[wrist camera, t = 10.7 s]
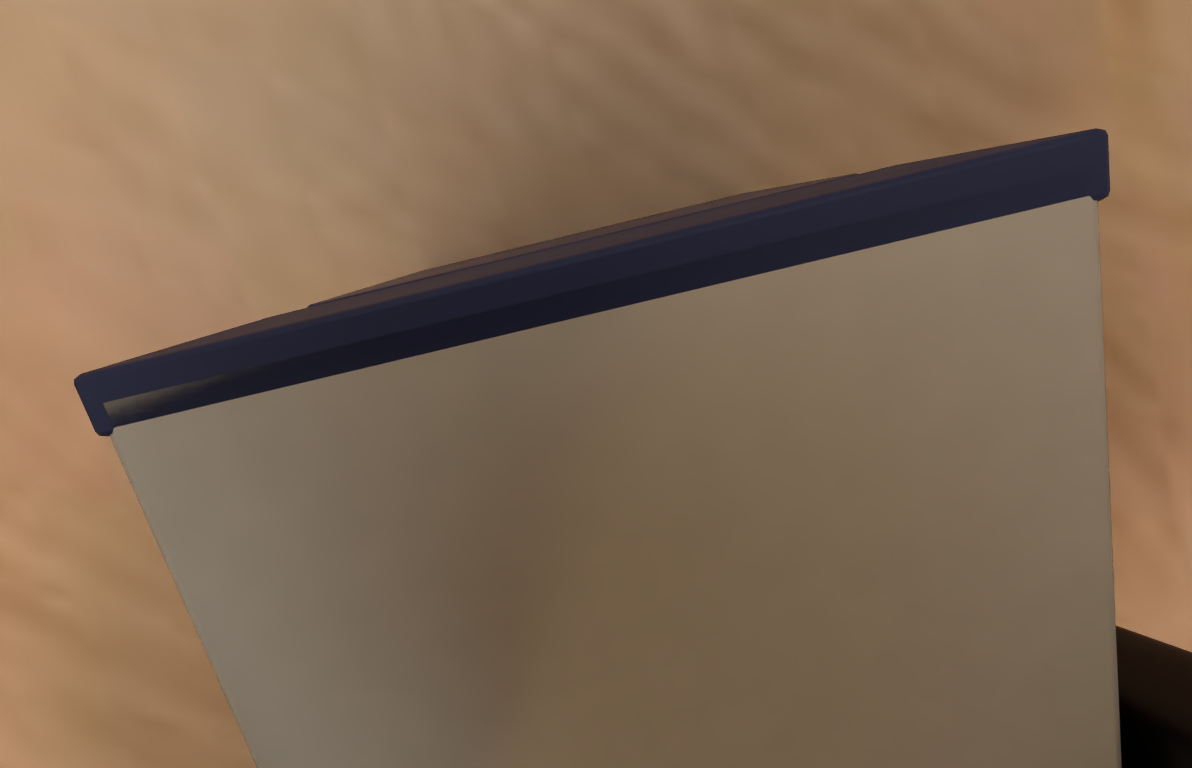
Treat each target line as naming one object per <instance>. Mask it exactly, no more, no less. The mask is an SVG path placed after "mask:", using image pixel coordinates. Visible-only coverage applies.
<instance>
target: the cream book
mask: <svg viewBox="0 0 1192 768" xmlns="http://www.w3.org/2000/svg"><path fill="white" fill-rule="evenodd" d="M1109 192H1110V176H1109V150H1108V134H1107V132H1106V130H1102V129H1091V130H1085V131H1080V132H1074V133H1069V134H1063V135H1058V136H1053V137H1047V138H1042V139H1036V140H1031V141H1025V142H1020V143H1014V144H1009V145H1004V146H998V147H993V148H987V149H982V150H976V151H971V152H965V153H960V154H955V155H949V156H944V157H938V158H933V159H927V160H922V161H916V162H911V163H906V164H900V165H895V166H891V167H886V168H882V169H878V170H874V171H870V172H866V173H862V174H858V175H853V176H849V177H845V178H841V179H837V180H833V181H829V182H825V183H820V184H816V185H812V186H808V187H804V188H800V189H796V190H792V191H787V192H783V193H779V194H775V195H771V196H767V197H763V198H759V199H754V200H750V201H746V202H742V203H738V204H734V205H730V206H726V207H721V208H717V209H713V210H709V211H705V212H701V213H697V214H693V215H688V216H684V217H680V218H676V219H672V220H668V221H664V222H660V223H655V224H651V225H647V226H643V227H639V228H635V229H631V230H627V231H622V232H618V233H614V234H610V235H606V236H602V237H598V238H594V239H589V240H585V241H581V242H577V243H573V244H569V245H565V246H561V247H557V248H552V249H548V250H544V251H540V252H536V253H532V254H528V255H524V256H519V257H515V258H511V259H507V260H503V261H499V262H495V263H491V264H486V265H482V266H478V267H474V268H470V269H466V270H462V271H458V272H453V273H449V274H445V275H441V276H437V277H433V278H429V279H425V280H420V281H416V282H412V283H408V284H404V285H400V286H396V287H392V288H387V289H383V290H379V291H375V292H371V293H367V294H363V295H359V296H354V297H350V298H346V299H342V300H338V301H334V302H330V303H326V304H321V305H317V306H313V307H309V308H305V309H301V310H297V311H293V312H288V313H284V314H280V315H276V316H272V317H268V318H265V319H262V320H259V321H255V322H252V323H249V324H245V325H242V326H239V327H235V328H232V329H229V330H225V331H222V332H219V333H215V334H212V335H209V336H205V337H202V338H199V339H195V340H192V341H189V342H185V343H182V344H179V345H175V346H172V347H169V348H165V349H162V350H159V351H156V352H152V353H149V354H146V355H142V356H139V357H136V358H132V359H129V360H126V361H122V362H119V363H116V364H112V365H109V366H106V367H102V368H99V369H96V370H92V371H89V372H86V373H82V374H80V375H79V376H78V377H77V378H75V379H74V385H75V387H76V390H77V392H78V394H79V396H80V398H81V401H82V403H83V405H84V407H85V410H86V412H87V414H88V416H89V418H90V421H91V423H92V425H93V427H94V430H95V432H96V433H97V434H98V435H99V436H110V437H111V439H112V442H113V444H114V446H115V448H116V451H117V453H118V455H119V457H120V460H121V462H122V464H123V466H124V469H125V471H126V473H127V475H128V478H129V480H130V482H131V484H132V487H133V489H134V491H135V493H136V496H137V498H138V500H139V502H140V505H141V507H142V509H143V511H144V514H145V516H146V518H147V520H148V523H149V525H150V527H151V529H152V532H153V534H154V536H155V538H156V541H157V543H158V545H159V547H160V550H161V552H162V554H163V556H164V559H165V561H166V563H167V565H168V568H169V570H170V572H171V574H172V577H173V579H174V581H175V583H176V586H177V588H178V590H179V592H180V595H181V597H182V599H183V601H184V604H185V606H186V608H187V610H188V613H189V615H190V617H191V619H192V622H193V624H194V626H195V628H196V631H197V633H198V635H199V637H200V640H201V642H202V644H203V646H204V649H205V651H206V653H207V655H208V658H209V660H210V662H211V664H212V667H213V669H214V671H215V673H216V676H217V678H218V680H219V682H220V685H221V687H222V689H223V691H224V694H225V696H226V698H227V700H228V703H229V705H230V707H231V709H232V712H233V714H234V716H235V718H236V721H237V723H238V725H239V727H240V730H241V732H242V734H243V736H244V739H245V741H246V743H247V745H248V748H249V750H250V752H251V754H252V757H253V759H254V761H255V763H256V766H257V768H1122V764H1121V741H1120V717H1119V693H1118V670H1117V646H1116V623H1115V599H1114V576H1113V552H1112V529H1111V505H1110V481H1109V458H1108V434H1107V411H1106V387H1105V364H1104V340H1103V317H1102V293H1101V269H1100V246H1099V222H1098V201H1100V200H1102V199H1104V198H1106V197H1107V196H1108V195H1109Z"/></svg>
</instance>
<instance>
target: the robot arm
mask: <svg viewBox="0 0 1192 768" xmlns="http://www.w3.org/2000/svg"><path fill="white" fill-rule="evenodd" d="M1116 646H1117V670H1118V693H1119V717H1120V741H1121V764H1122V768H1192V652H1189V651H1186V650H1183V649H1181V648H1178V647H1175V646H1172V645H1169V644H1166V643H1164V642H1161V641H1158V640H1155V639H1152V638H1149V637H1147V636H1144V635H1141V634H1138V633H1135V632H1132V631H1130V630H1127V629H1124V628H1121V627H1118V626H1116Z"/></svg>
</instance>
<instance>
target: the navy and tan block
mask: <svg viewBox="0 0 1192 768" xmlns="http://www.w3.org/2000/svg"><path fill="white" fill-rule="evenodd" d="M853 175H858V174H850V175H844V176H839V177H833V178H827V179H822V180H816V181H810V182H805V183H799V184H793V185H788V186H782V187H777V188H771V189H765V190H760V191H754V192H748V193H743V194H739V195H735V196H730V197H726V198H722V199H718V200H714V201H710V202H706V203H701V204H697V205H693V206H689V207H685V208H681V209H677V210H672V211H668V212H664V213H660V214H656V215H652V216H648V217H643V218H639V219H635V220H631V221H627V222H623V223H619V224H614V225H610V226H606V227H602V228H598V229H594V230H590V231H585V232H581V233H577V234H573V235H569V236H565V237H561V238H556V239H552V240H548V241H544V242H540V243H536V244H532V245H527V246H523V247H519V248H515V249H511V250H507V251H503V252H498V253H494V254H490V255H486V256H482V257H478V258H474V259H469V260H465V261H461V262H457V263H453V264H449V265H445V266H440V267H436V268H432V269H428V270H424V271H420V272H417V273H413V274H410V275H407V276H403V277H400V278H397V279H394V280H390V281H387V282H384V283H380V284H377V285H374V286H371V287H367V288H364V289H361V290H357V291H354V292H351V293H348V294H344V295H341V296H338V297H334V298H331V299H328V300H325V301H321V302H318V303H315V304H311V305H310V306H308V307H307V308H309V307H313V306H317V305H321V304H326V303H330V302H334V301H338V300H342V299H346V298H350V297H354V296H359V295H363V294H367V293H371V292H375V291H379V290H383V289H387V288H392V287H396V286H400V285H404V284H408V283H412V282H416V281H420V280H425V279H429V278H433V277H437V276H441V275H445V274H449V273H453V272H458V271H462V270H466V269H470V268H474V267H478V266H482V265H486V264H491V263H495V262H499V261H503V260H507V259H511V258H515V257H519V256H524V255H528V254H532V253H536V252H540V251H544V250H548V249H552V248H557V247H561V246H565V245H569V244H573V243H577V242H581V241H585V240H589V239H594V238H598V237H602V236H606V235H610V234H614V233H618V232H622V231H627V230H631V229H635V228H639V227H643V226H647V225H651V224H655V223H660V222H664V221H668V220H672V219H676V218H680V217H684V216H688V215H693V214H697V213H701V212H705V211H709V210H713V209H717V208H721V207H726V206H730V205H734V204H738V203H742V202H746V201H750V200H754V199H759V198H763V197H767V196H771V195H775V194H779V193H783V192H787V191H792V190H796V189H800V188H804V187H808V186H812V185H816V184H820V183H825V182H829V181H833V180H837V179H841V178H845V177H849V176H853Z"/></svg>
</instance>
